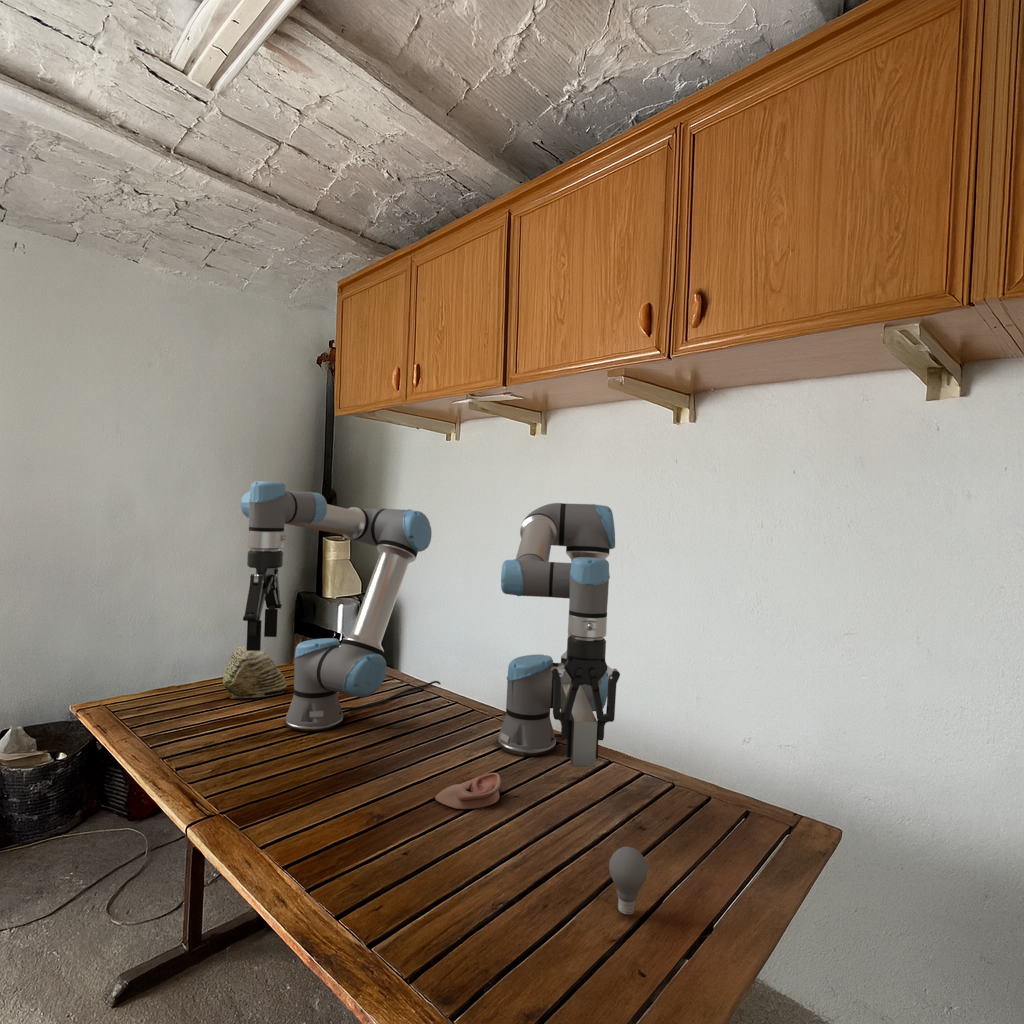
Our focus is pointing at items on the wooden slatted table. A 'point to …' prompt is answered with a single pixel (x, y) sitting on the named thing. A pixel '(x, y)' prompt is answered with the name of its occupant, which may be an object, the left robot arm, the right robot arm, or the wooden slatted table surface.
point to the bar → (581, 729)
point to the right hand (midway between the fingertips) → (581, 755)
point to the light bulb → (627, 876)
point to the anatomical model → (472, 793)
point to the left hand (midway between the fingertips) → (262, 643)
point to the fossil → (252, 675)
